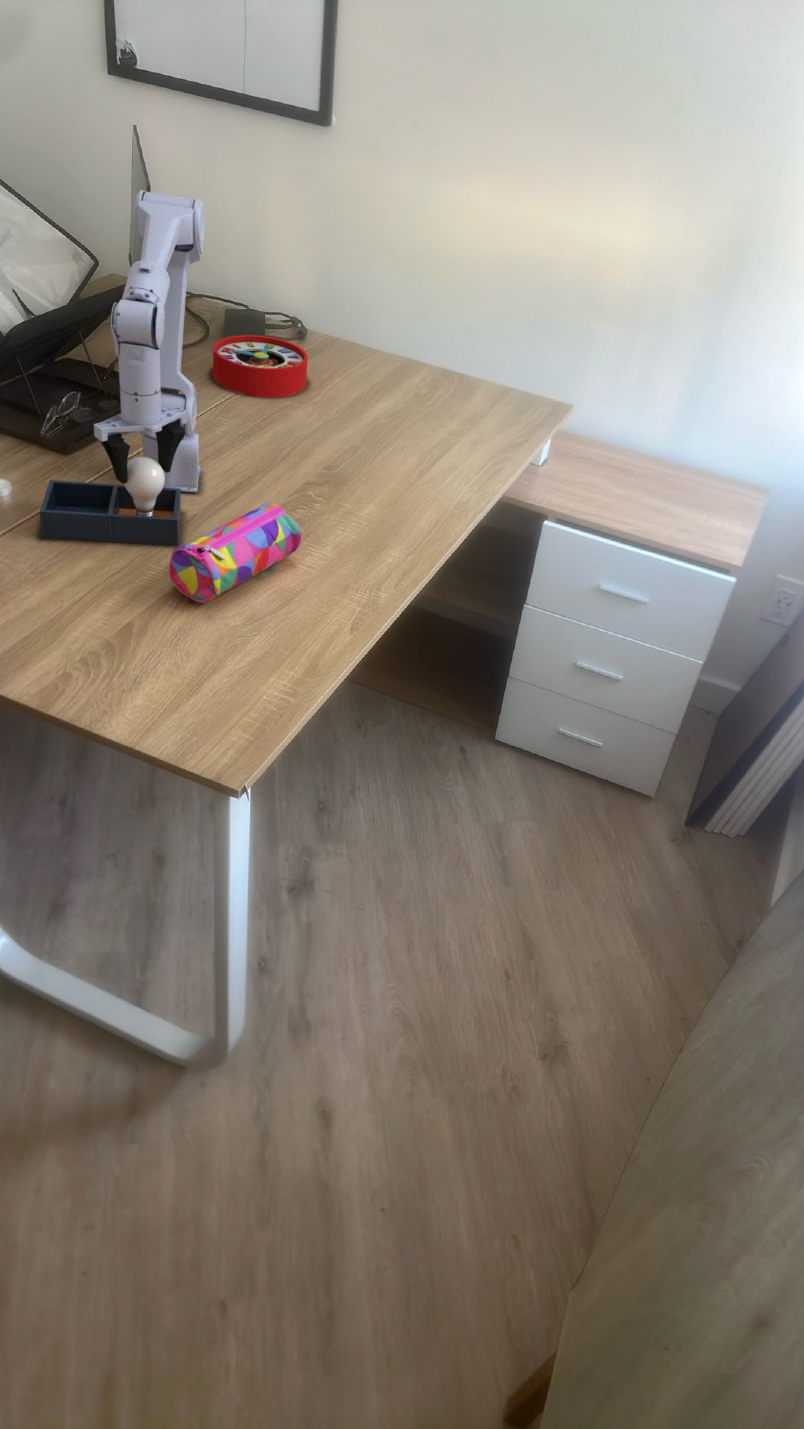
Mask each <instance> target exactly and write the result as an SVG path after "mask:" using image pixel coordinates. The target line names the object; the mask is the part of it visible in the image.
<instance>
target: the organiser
mask: <svg viewBox="0 0 804 1429" xmlns="http://www.w3.org/2000/svg"><path fill="white" fill-rule="evenodd" d="M181 497H182V493H181V489H178V488H163V489H162V491H161V492H160V494H159V495H158V496H157V498H156V502H155V505H154V511H153V512H154V513H153V514H154V517H153V516H137V515H136V506H135V504H134V502H133V498H132V496H131V495H130V494H129V492H128V491H127V490H126V488H125V486H124V484H118V483H117V484H114V483H102V482H88V481H87V482H86V481H85V482H84V481H70V480H57V479H55V480H54V479H49V482H48V484H47V488H46V491H45V493H44V497H43V499H42V502H41V503H42V504H41V506H40V509H39V518H40V520H39V521H40V529H41V537H42V539H50V540H51V539H53V540H70V541H87V542H88V541H89V542H107V543H124V544H125V543H126V544H142V545H143V544H144V545H161V546H177V547H178V546H179V537H180V528H181V527H180V526H181V518H182V517H181V516H182V500H181V499H182V498H181Z"/></svg>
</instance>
